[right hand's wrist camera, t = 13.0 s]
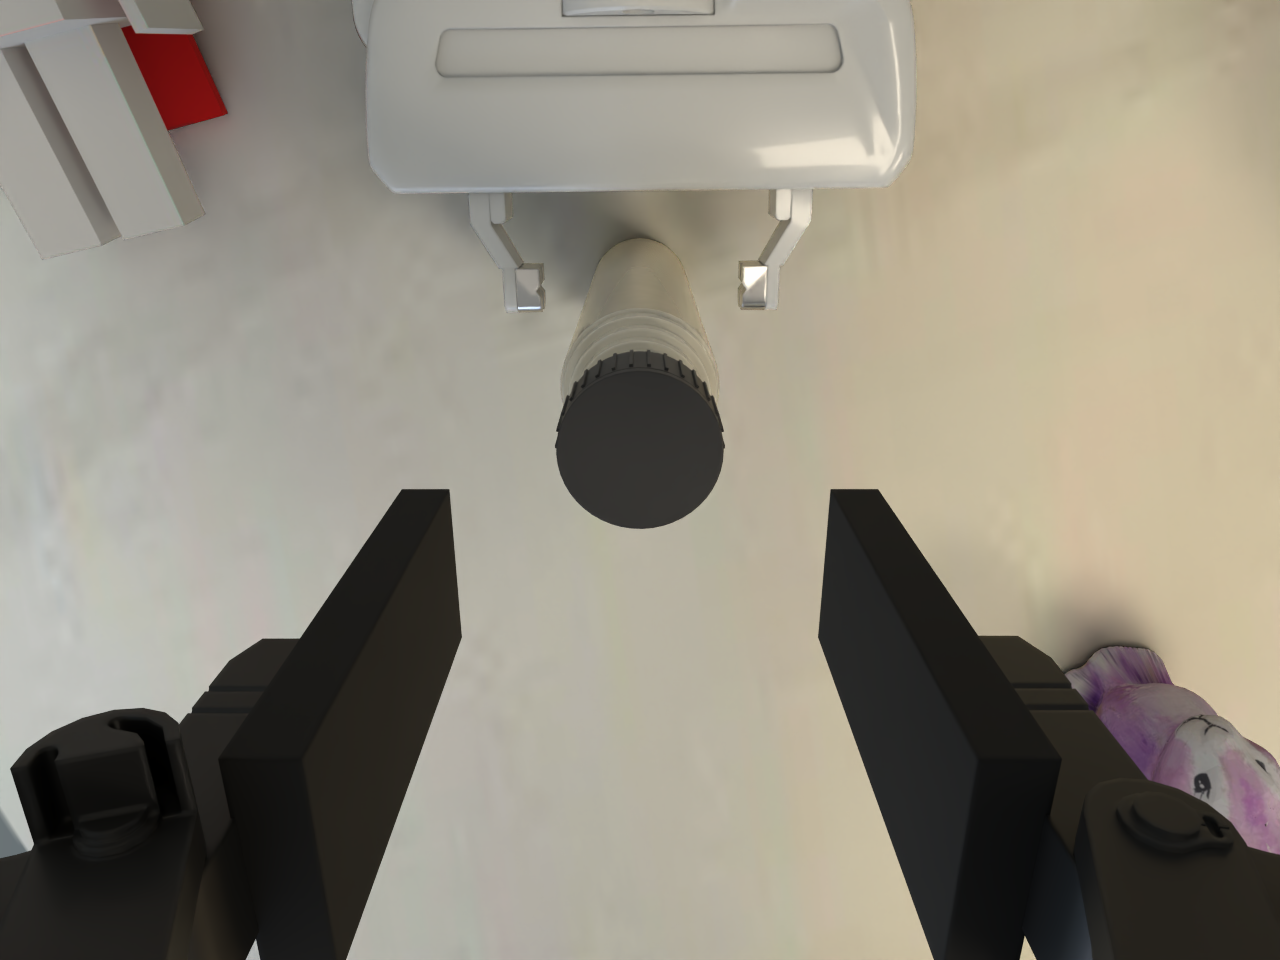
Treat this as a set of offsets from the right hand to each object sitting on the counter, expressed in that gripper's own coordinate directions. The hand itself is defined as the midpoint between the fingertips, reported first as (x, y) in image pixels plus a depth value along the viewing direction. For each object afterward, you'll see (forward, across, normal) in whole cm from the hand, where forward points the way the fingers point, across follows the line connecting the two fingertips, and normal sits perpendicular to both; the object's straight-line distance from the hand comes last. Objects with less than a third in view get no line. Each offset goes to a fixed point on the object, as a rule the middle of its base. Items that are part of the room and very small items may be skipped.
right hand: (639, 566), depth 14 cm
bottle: (+30, 0, 0) cm, 30 cm away
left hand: (+23, 0, 0) cm, 23 cm away
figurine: (+30, +26, -24) cm, 46 cm away
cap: (+6, 0, 0) cm, 6 cm away
